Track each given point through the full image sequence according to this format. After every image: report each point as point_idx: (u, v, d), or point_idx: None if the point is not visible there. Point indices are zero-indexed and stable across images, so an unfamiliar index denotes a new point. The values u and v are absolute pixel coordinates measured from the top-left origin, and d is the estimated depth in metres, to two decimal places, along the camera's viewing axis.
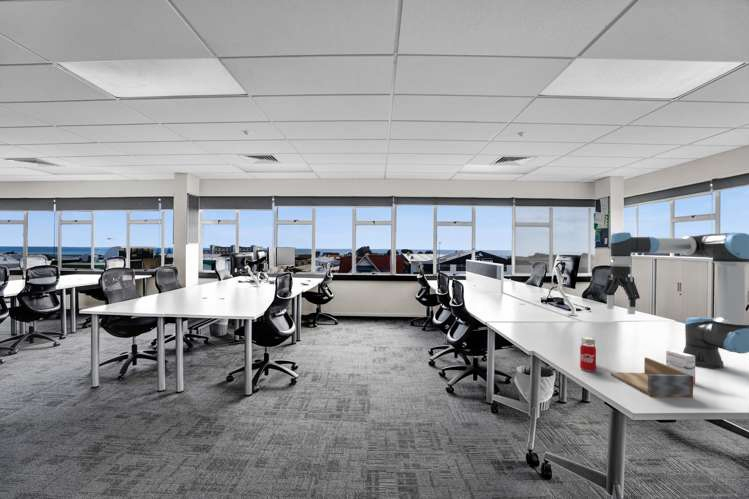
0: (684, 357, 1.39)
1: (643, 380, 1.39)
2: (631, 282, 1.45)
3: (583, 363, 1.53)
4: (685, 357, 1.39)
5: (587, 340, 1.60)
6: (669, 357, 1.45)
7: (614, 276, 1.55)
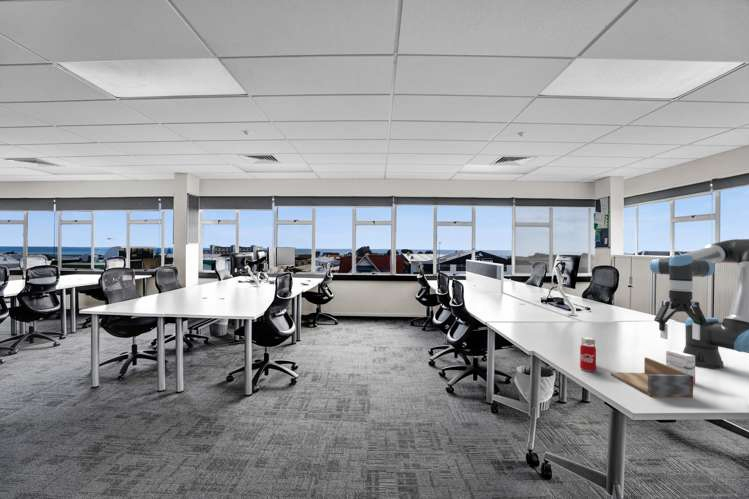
0: (684, 357, 1.39)
1: (643, 380, 1.39)
2: (663, 306, 1.43)
3: (583, 363, 1.53)
4: (685, 357, 1.39)
5: (587, 340, 1.60)
6: (669, 357, 1.45)
7: None
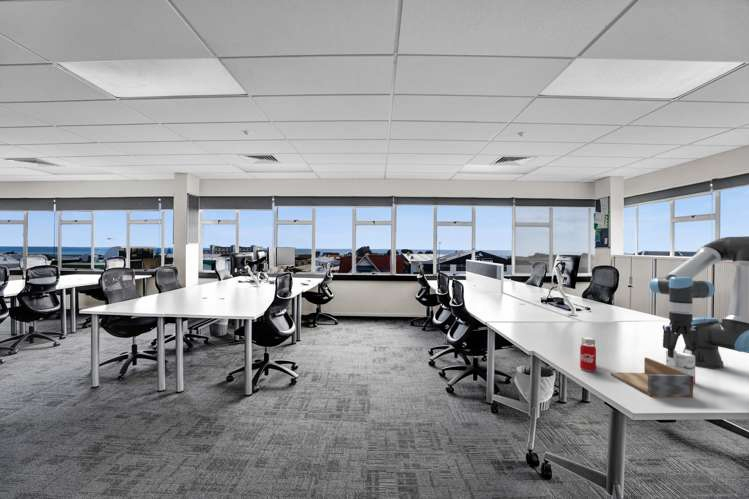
0: (684, 357, 1.39)
1: (643, 380, 1.39)
2: (665, 331, 1.43)
3: (583, 363, 1.53)
4: (685, 357, 1.39)
5: (587, 340, 1.60)
6: None
7: None
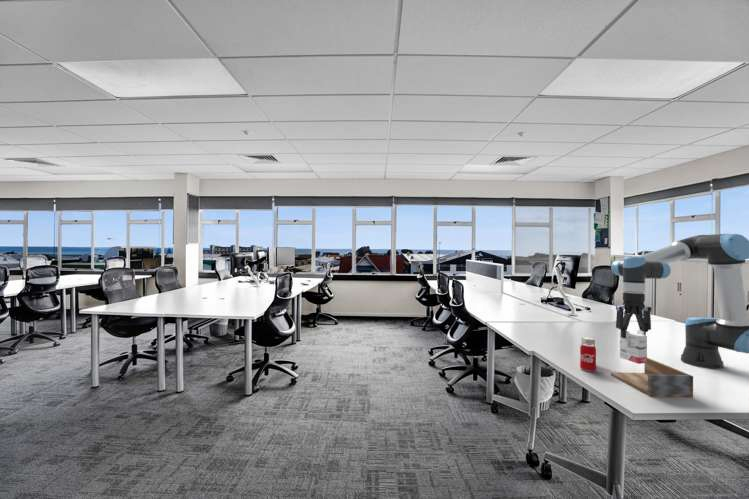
0: (635, 337, 1.38)
1: (643, 380, 1.39)
2: (618, 311, 1.42)
3: (583, 363, 1.53)
4: (636, 337, 1.38)
5: (587, 340, 1.60)
6: None
7: None
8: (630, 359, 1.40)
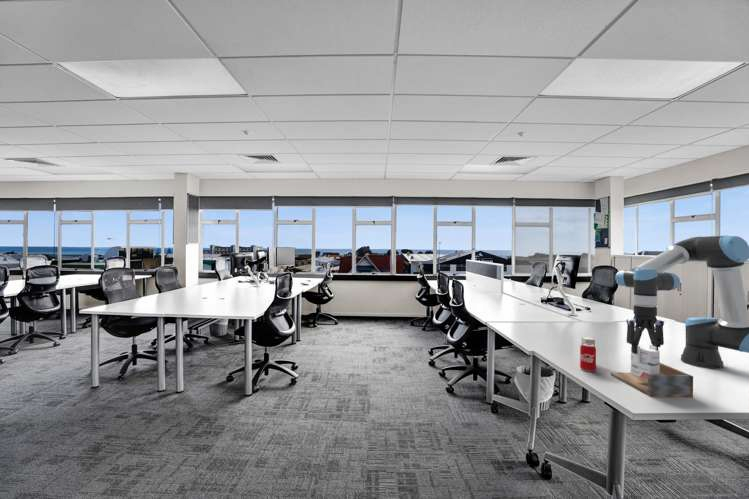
0: (647, 353, 1.32)
1: (643, 380, 1.39)
2: (629, 325, 1.36)
3: (583, 363, 1.53)
4: (649, 353, 1.31)
5: (587, 340, 1.60)
6: None
7: None
8: (642, 376, 1.34)
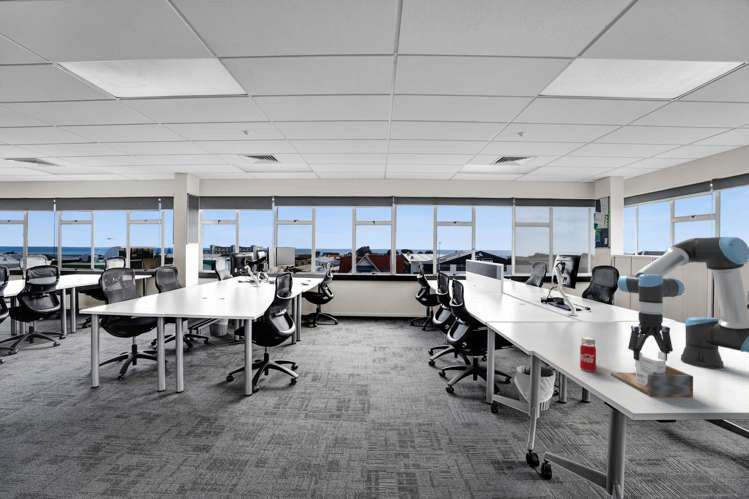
0: (653, 362, 1.29)
1: None
2: (633, 332, 1.33)
3: (583, 363, 1.53)
4: (654, 362, 1.29)
5: (587, 340, 1.60)
6: None
7: None
8: (647, 385, 1.31)
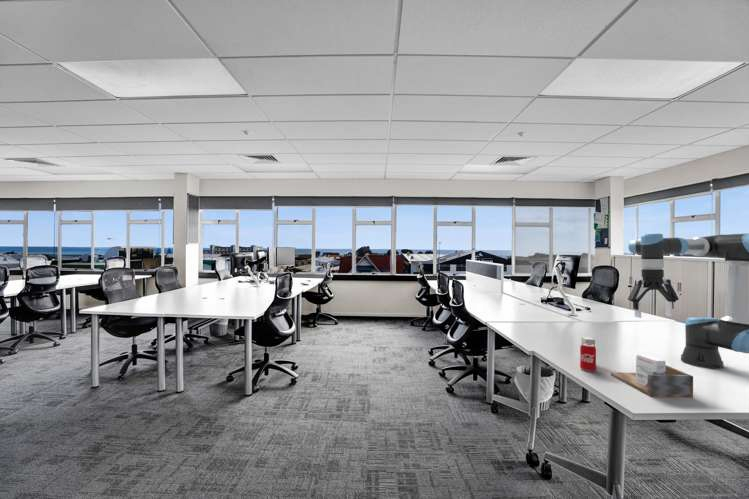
0: (653, 362, 1.29)
1: None
2: (636, 285, 1.44)
3: (583, 363, 1.53)
4: (654, 362, 1.29)
5: (587, 340, 1.60)
6: (639, 362, 1.35)
7: None
8: (647, 385, 1.31)
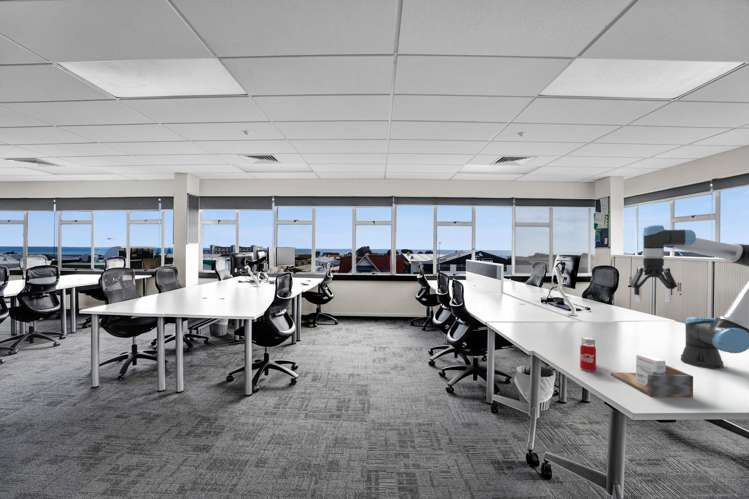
0: (653, 362, 1.29)
1: None
2: (638, 272, 1.57)
3: (583, 363, 1.53)
4: (654, 362, 1.29)
5: (587, 340, 1.60)
6: (639, 362, 1.35)
7: None
8: (647, 385, 1.31)
